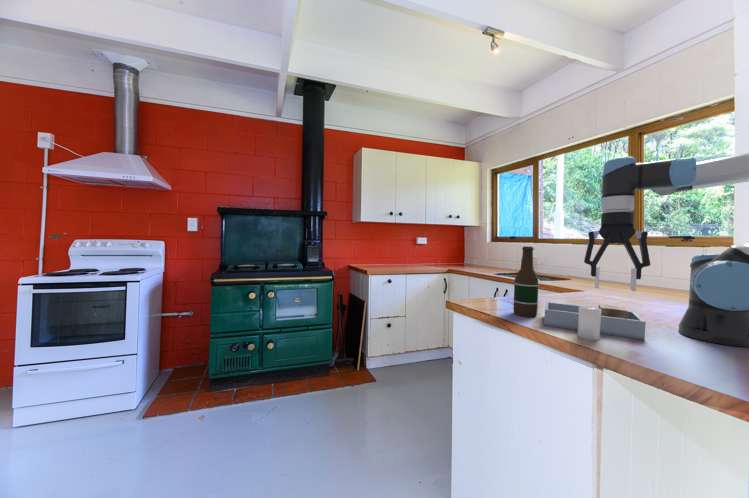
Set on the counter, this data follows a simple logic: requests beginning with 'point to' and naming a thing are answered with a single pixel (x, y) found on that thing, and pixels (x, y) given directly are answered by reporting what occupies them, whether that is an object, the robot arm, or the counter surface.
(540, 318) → the counter surface
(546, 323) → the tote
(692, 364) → the counter surface
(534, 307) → the beer bottle
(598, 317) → the ceramic canister
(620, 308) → the walnut cube
